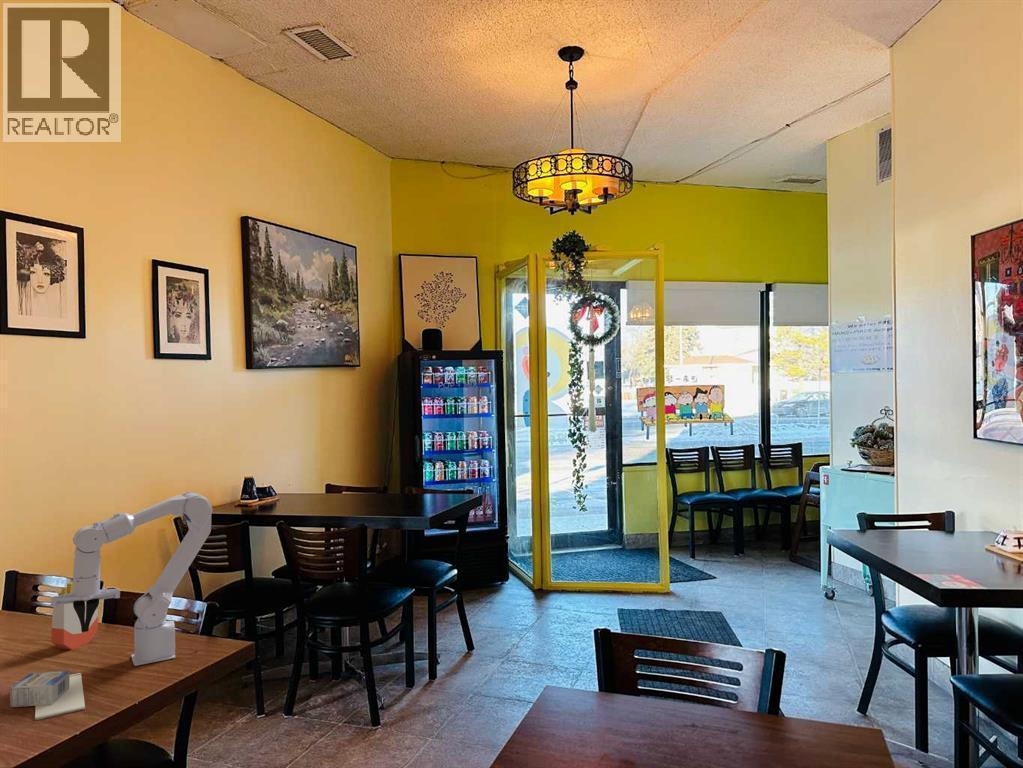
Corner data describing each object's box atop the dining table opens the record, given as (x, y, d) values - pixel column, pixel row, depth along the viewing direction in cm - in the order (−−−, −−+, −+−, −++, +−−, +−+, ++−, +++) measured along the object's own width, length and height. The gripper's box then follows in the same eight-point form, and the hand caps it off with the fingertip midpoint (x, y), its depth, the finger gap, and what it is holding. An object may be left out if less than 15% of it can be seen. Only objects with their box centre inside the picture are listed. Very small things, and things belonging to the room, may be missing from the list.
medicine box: (52, 685, 150) (9, 687, 149) (52, 705, 150) (9, 707, 149) (70, 670, 158) (29, 672, 156) (69, 689, 158) (28, 691, 156)
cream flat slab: (81, 674, 167) (81, 672, 167) (85, 709, 148) (85, 707, 148) (36, 683, 161) (36, 681, 161) (35, 720, 143) (35, 718, 143)
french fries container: (50, 651, 181) (50, 584, 181) (84, 637, 192) (85, 573, 192) (63, 653, 180) (64, 585, 180) (97, 638, 191) (98, 575, 191)
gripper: (51, 583, 161) (49, 640, 160) (121, 575, 169) (119, 630, 169) (51, 576, 167) (49, 632, 166) (119, 569, 175) (117, 622, 174)
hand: (84, 630), depth 168 cm, fingers closed
